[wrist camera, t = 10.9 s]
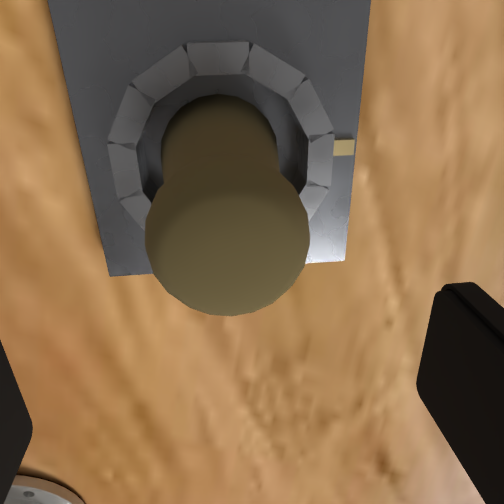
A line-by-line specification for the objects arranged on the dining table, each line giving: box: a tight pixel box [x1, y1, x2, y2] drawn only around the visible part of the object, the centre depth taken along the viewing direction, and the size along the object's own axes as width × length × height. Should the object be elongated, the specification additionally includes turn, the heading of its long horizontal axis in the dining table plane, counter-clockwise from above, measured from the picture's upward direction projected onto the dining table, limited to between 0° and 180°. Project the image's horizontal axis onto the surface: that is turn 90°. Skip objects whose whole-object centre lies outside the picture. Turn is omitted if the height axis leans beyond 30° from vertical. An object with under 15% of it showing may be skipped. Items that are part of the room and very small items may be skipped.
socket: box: [48, 0, 371, 277], centre depth 21 cm, size 14×14×4 cm
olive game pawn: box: [145, 94, 310, 316], centre depth 16 cm, size 6×6×11 cm
